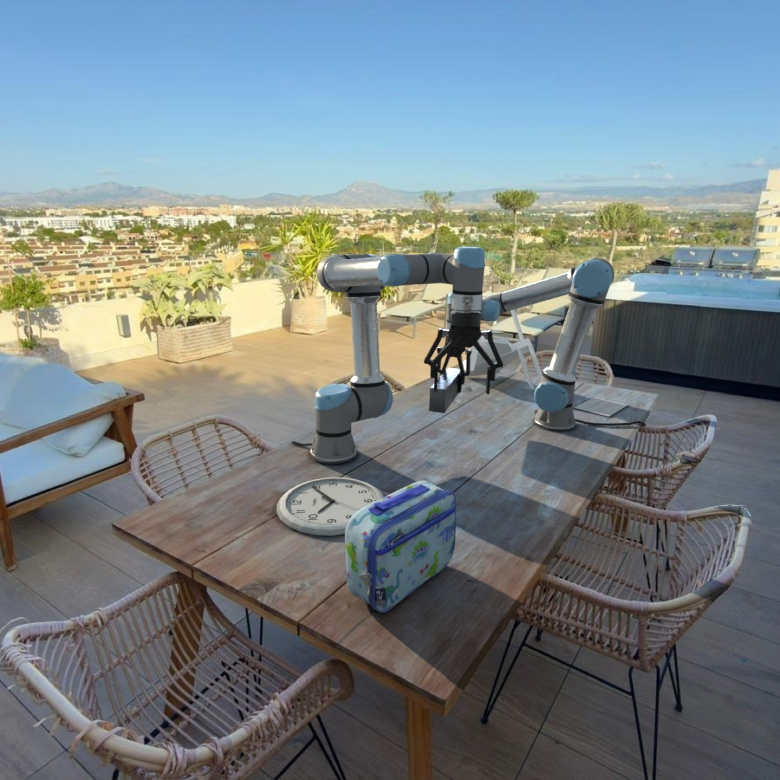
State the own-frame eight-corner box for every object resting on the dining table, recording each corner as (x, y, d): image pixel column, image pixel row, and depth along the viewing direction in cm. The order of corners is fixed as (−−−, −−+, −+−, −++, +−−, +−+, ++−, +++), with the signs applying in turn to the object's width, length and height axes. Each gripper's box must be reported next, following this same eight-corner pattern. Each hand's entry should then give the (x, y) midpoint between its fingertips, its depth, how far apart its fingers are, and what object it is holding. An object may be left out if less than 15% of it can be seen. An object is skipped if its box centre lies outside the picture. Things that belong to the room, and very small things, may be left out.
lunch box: (374, 626, 100) (375, 530, 93) (338, 598, 107) (337, 508, 101) (459, 568, 117) (465, 484, 111) (424, 547, 124) (427, 467, 118)
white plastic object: (480, 418, 266) (459, 395, 242) (461, 346, 288) (441, 318, 264) (550, 394, 254) (536, 368, 229) (526, 321, 276) (510, 289, 251)
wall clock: (392, 527, 129) (268, 531, 127) (391, 533, 130) (269, 537, 127) (383, 473, 158) (282, 475, 155) (383, 478, 158) (282, 480, 156)
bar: (446, 388, 211) (448, 367, 208) (460, 390, 209) (462, 369, 207) (428, 411, 185) (430, 387, 182) (444, 413, 183) (445, 389, 180)
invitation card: (608, 416, 214) (573, 407, 224) (608, 416, 214) (573, 408, 224) (628, 404, 229) (594, 396, 238) (628, 405, 229) (594, 397, 238)
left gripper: (415, 311, 129) (413, 392, 135) (518, 314, 126) (511, 398, 133) (417, 306, 136) (415, 384, 143) (515, 310, 134) (508, 389, 140)
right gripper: (429, 332, 199) (426, 390, 206) (478, 337, 193) (473, 396, 200) (434, 329, 205) (431, 385, 212) (481, 333, 200) (476, 391, 207)
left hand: (461, 391), depth 138 cm, fingers open, 13 cm apart
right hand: (451, 390), depth 206 cm, fingers closed on bar, 6 cm apart
